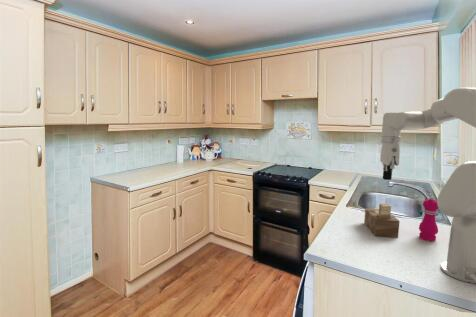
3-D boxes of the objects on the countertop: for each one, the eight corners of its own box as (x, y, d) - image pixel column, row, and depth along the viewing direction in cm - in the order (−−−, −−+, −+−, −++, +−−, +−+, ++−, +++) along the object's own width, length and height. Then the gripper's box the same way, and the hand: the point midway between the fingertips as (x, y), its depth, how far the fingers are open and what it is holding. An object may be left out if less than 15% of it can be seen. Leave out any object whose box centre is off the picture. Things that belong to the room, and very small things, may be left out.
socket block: (398, 237, 126) (399, 220, 125) (375, 236, 128) (376, 219, 126) (384, 224, 142) (385, 208, 141) (364, 223, 143) (365, 208, 142)
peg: (389, 222, 128) (391, 206, 127) (381, 222, 129) (382, 205, 128) (386, 219, 132) (387, 203, 131) (378, 219, 132) (379, 203, 131)
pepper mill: (440, 242, 121) (445, 198, 118) (422, 241, 123) (426, 198, 120) (432, 235, 128) (436, 194, 125) (415, 234, 130) (419, 193, 127)
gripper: (407, 141, 117) (402, 183, 120) (392, 138, 131) (389, 176, 134) (388, 141, 118) (384, 183, 121) (375, 138, 132) (372, 175, 135)
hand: (386, 179), depth 127 cm, fingers closed
